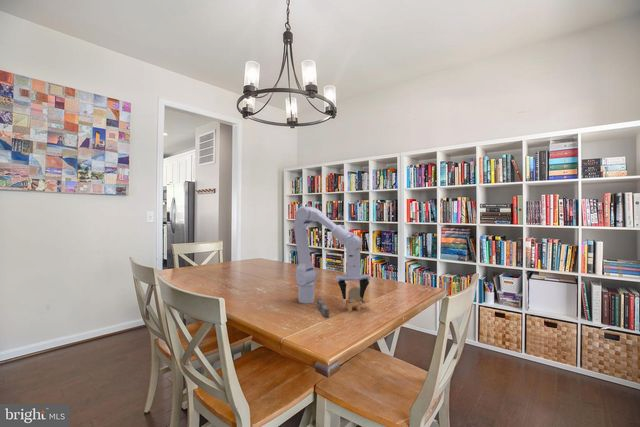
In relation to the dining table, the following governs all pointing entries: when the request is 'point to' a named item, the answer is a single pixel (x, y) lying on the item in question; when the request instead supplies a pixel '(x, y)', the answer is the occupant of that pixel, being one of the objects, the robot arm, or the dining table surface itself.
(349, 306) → the u-shaped block
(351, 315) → the dining table surface
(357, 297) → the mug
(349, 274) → the robot arm
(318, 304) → the stand
